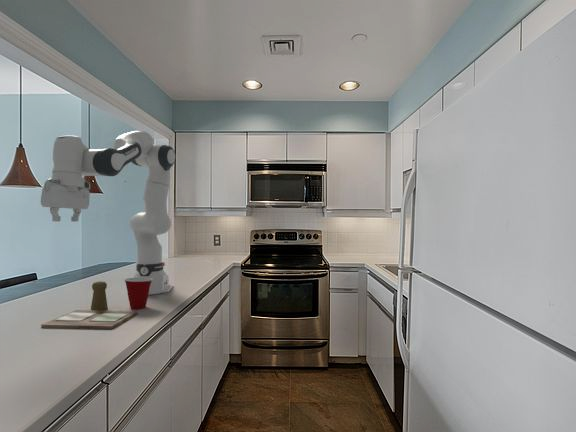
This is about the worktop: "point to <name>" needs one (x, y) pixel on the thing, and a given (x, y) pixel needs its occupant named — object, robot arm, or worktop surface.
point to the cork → (99, 296)
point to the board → (90, 319)
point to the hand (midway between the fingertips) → (65, 221)
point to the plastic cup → (138, 291)
